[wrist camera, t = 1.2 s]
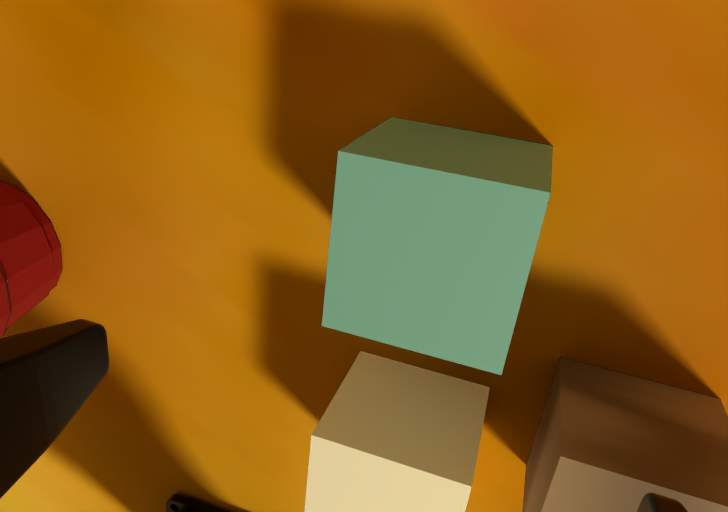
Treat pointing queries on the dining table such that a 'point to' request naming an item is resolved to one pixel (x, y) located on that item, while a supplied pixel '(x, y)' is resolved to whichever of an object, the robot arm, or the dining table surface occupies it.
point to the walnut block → (625, 445)
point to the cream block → (396, 441)
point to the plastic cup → (24, 255)
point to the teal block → (435, 239)
